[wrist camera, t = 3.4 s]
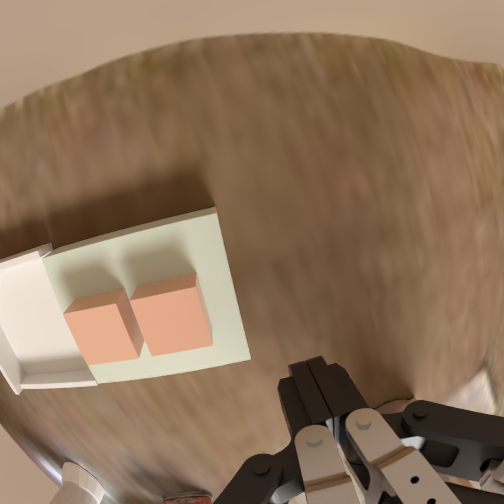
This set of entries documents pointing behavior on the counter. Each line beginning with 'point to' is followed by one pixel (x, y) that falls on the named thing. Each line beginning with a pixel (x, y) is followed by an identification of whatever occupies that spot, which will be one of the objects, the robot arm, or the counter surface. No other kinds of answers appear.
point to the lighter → (189, 498)
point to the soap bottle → (78, 487)
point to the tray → (36, 328)
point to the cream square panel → (152, 270)
